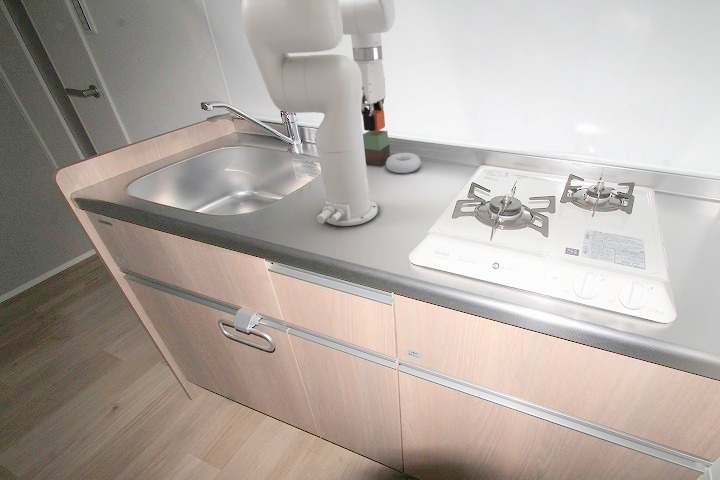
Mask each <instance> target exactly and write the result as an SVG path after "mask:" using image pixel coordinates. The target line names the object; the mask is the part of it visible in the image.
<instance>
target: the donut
mask: <svg viewBox="0 0 720 480" xmlns="http://www.w3.org/2000/svg"><path fill="white" fill-rule="evenodd" d="M421 163H422V160H421V158H420V157H419V156H418V155H417V154H415V153H411V152H398V153H394V154H392V155H391V154H390V157H388V158H387V161H386V163H385V166H386V168H387V170H388V171H390V172H393V173H396V174H409V173H412V172H415V171H417V170H418V169H419V168H420V166H421Z"/></svg>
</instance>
